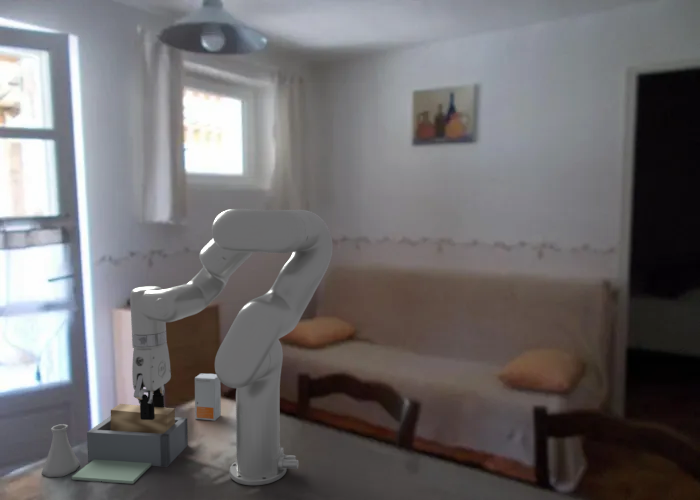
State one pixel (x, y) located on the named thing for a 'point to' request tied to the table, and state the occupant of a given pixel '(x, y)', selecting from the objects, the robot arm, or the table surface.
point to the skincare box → (207, 397)
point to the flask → (60, 454)
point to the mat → (112, 471)
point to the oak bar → (131, 421)
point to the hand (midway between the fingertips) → (152, 414)
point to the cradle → (137, 444)
